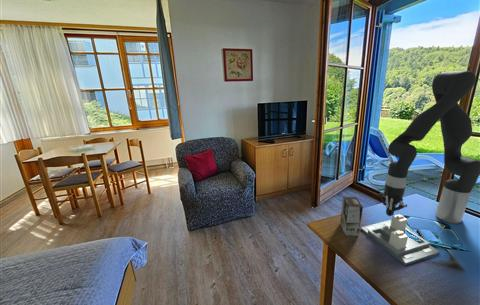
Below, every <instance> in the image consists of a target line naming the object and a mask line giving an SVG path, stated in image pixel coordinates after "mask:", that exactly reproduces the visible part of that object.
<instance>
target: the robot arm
mask: <svg viewBox="0 0 480 305" xmlns="http://www.w3.org/2000/svg"><path fill="white" fill-rule="evenodd" d="M476 80H477V75H476V74H475V72H473V71H471V70H455V71H454V70H452V71H450V70H449V71H442V72H439V73H437V75H435V77H434V78H433V80H432V83H431V90H432V93H433V97H434V100H435V103H434V104H433V105H431V106H430V107H429V108H427V109H425V110H424V111H422V112H421V113H419V114H418V115H417V116H416V117H415V118H413V120H412V121H411V123H410V124H409V125H408V126H407V128H406V129H405V131H403V132H401V133H400V134H399V135H398V136H397V137H396V138H395V139H393V140H392V141H391V142H390V144H389V145H388V148H387V152H388V154H390V155H391V156H393V157H395V158H398V160H396V161H390V163H389V165H388V169H387V174H386V176H385V177H386V178H385V182H384V189H383V192H379V193H378V195H379V197H380V200H381V202H382V205H383V206H385V207H386V210H385V214H386V215H387V217H392V216H395V215H394V213H395V212H397V211H400V210H402V209H405V208H407V207H408V204H406V203H405V202H404V198H403V197H404V195H405V190H406V185H407V183H408V182H407V180H408V178H407V177H408V173H409V169H410V167H411V165H412V164H413V162H414V161H415V159H416V157H417V154H418V150H417V147H415V145H412V144H411V143H412V142H421V141H422V140H424V138H425V137H427V135H428V133H429V132H431V129H432V128H434V126H435V125H436V123H437V122H440V129H441V130H440V131H441V136H442V140H443V152H444V153H443V154H444V155H443V161H444V162H443V165H444V169H445V170H446V172H448V173H450V174H453V175H456V176H458V177H459V178H458V179H452V178H451V179H447V180H445V182H444V184H443V188H442V191H441V195H440V198H439V201H438V205H437V209H436V212H435V216H436V218H438V219H440V220H441V221H444V222H446V223H449V224H456V225H457V224H461V222H462V220H463V218H464V215H465V210H466V208H467V205H468V202H469V200H470V196H471V193H472V190H473V188H474V187H475V185H476V184H477V181H478V179H479V176H480V160H478V159H474V158H471V157H468V156H464V155H462V151H461V148H462V146H464V144H465V143H466V142H467V141H468V140H469V139H471V137H472V135H473V124H472V120H471V119H472V118H471V117H470V116H469V114H468V112H466V111H465V109H464V108H463V107H462V106H461V105H460V104H459V101H460V100H462V99H464V97H465V96H466V95H468V93H469V92H471V90H472V89H473V88H474V85H475V84H476Z"/></svg>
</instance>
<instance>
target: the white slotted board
mask: <svg viewBox="0 0 480 305" xmlns="http://www.w3.org/2000/svg"><path fill="white" fill-rule="evenodd" d="M391 221H392V219H388V220H385V221H381V222H377V223H374V224H370V225H369V224H368V225H365V226H362V227H361V226H360V231H362V232H363V233H364V234H366V236H368V237H369V238H370V239H371V240H373V241H374V242H375V243H377V245H379V246H381V247H382V248H383V249H384V250H386V251H387V253H389V254H390V255H392V257H394V258H395V259H397V261H398V262H399V263H401V264H402V265H404V266H408V265H410V264H413V263H417V262H420V261H422V260H425V259H429V258H432V257H435V256H438V255H440V254H441V251H440V250H438V249H436V248H435V247H433V246H432V245H430V244H431V242H429V241H428V240H426V239H424V238H422V237H421V236H420V235H418V234H417V233H415V232H413V231H412V230H410V229H409V228H407V227H406V229H405V230H406V231H407V232H409V233H410V234H411V235H413V236H415V237H417V238H418V239H420V240H421V241H422V242H419V241H416V240H413V239H411V238H409V237H408V239H407V243H406V247H405V248H404V249H401V250H397V249H395V248H394V247H393V246H391V245H390V244H389V241H390V236H391V232H393V231H396V230H394V229H393V228H391V227H390V226H391ZM404 234H405V232H404Z"/></svg>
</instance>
